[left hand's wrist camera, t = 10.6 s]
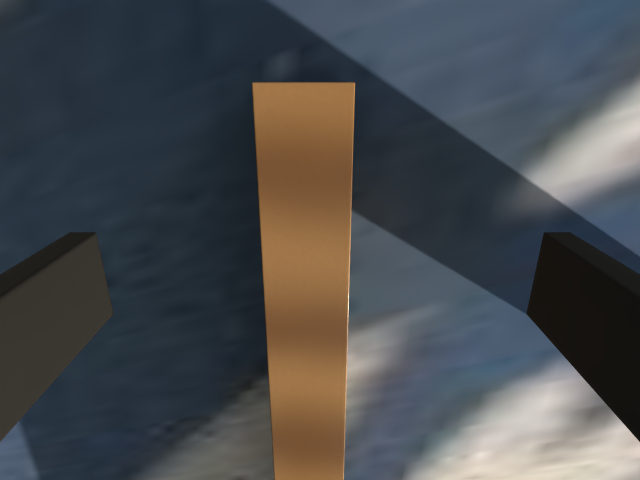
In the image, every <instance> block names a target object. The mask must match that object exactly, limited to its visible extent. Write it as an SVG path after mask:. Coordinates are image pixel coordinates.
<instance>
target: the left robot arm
mask: <svg viewBox="0 0 640 480" xmlns="http://www.w3.org/2000/svg"><path fill="white" fill-rule="evenodd" d="M112 315H113V310H112V305H111V300H110V296H109V291H108V286H107V281H106V277H105V272H104V267H103V263H102V258H101V253H100V249H99V244H98V239H97V235H96V232H70V233H68V234H67V235H65V236H63V237H62V238H60V239H58V240H57V241H55V242H53V243H52V244H50V245H48V246H47V247H45V248H43V249H42V250H40V251H39V252H37V253H35V254H34V255H32V256H30V257H29V258H27V259H25V260H24V261H22V262H20V263H19V264H17V265H16V266H14V267H12V268H11V269H9V270H7V271H6V272H4V273H2V274H1V275H0V441H1V440H2V439H3V438H4V437H5V436H6V435H7V434H8V432H9V431H10V430H11V429H12V428H13V427H14V426H15V424H16V423H17V422H18V421H19V420H20V419H21V418H22V417H23V415H24V414H25V413H26V412H27V411H28V410H29V409H30V408H31V406H32V405H33V404H34V403H35V402H36V401H37V400H38V399H39V397H40V396H41V395H42V394H43V393H44V392H45V391H46V389H47V388H48V387H49V386H50V385H51V384H52V383H53V382H54V380H55V379H56V378H57V377H58V376H59V375H60V374H61V373H62V371H63V370H64V369H65V368H66V367H67V366H68V365H69V363H70V362H71V361H72V360H73V359H74V358H75V357H76V356H77V354H78V353H79V352H80V351H81V350H82V349H83V348H84V347H85V345H86V344H87V343H88V342H89V341H90V340H91V339H92V338H93V336H94V335H95V334H96V333H97V332H98V331H99V330H100V328H101V327H102V326H103V325H104V324H105V323H106V322H107V321H108V319H109V318H110V317H111V316H112ZM527 315H528V316H529V317H530V318H531V319H532V321H533V322H534V323H535V324H536V325H537V326H538V327H539V328H540V330H541V331H542V332H543V333H544V334H545V335H546V336H547V338H548V339H549V340H550V341H551V342H552V343H553V344H554V345H555V347H556V348H557V349H558V350H559V351H560V352H561V353H562V354H563V356H564V357H565V358H566V359H567V360H568V361H569V362H570V363H571V365H572V366H573V367H574V368H575V369H576V370H577V371H578V373H579V374H580V375H581V376H582V377H583V378H584V379H585V380H586V382H587V383H588V384H589V385H590V386H591V387H592V388H593V389H594V391H595V392H596V393H597V394H598V395H599V396H600V397H601V399H602V400H603V401H604V402H605V403H606V404H607V405H608V406H609V408H610V409H611V410H612V411H613V412H614V413H615V414H616V415H617V417H618V418H619V419H620V420H621V421H622V422H623V423H624V424H625V426H626V427H627V428H628V429H629V430H630V431H631V432H632V434H633V435H634V436H635V437H636V438H637V439H638V440H639V441H640V275H639V274H638V273H636V272H634V271H633V270H631V269H629V268H628V267H626V266H624V265H623V264H621V263H620V262H618V261H616V260H615V259H613V258H611V257H610V256H608V255H606V254H605V253H603V252H601V251H600V250H598V249H597V248H595V247H593V246H592V245H590V244H588V243H587V242H585V241H583V240H582V239H580V238H578V237H577V236H575V235H573V234H572V233H570V232H544V235H543V239H542V244H541V249H540V253H539V258H538V263H537V267H536V272H535V277H534V281H533V286H532V291H531V296H530V300H529V305H528V310H527Z"/></svg>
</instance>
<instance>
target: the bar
mask: <svg viewBox="0 0 640 480" xmlns="http://www.w3.org/2000/svg"><path fill="white" fill-rule="evenodd" d="M252 91H253V109H254V127H255V144H256V162H257V180H258V197H259V215H260V232H261V250H262V268H263V285H264V303H265V321H266V338H267V356H268V373H269V391H270V409H271V426H272V444H273V462H274V479H275V480H344V447H345V412H346V377H347V342H348V308H349V273H350V238H351V204H352V169H353V134H354V99H355V83H354V82H253V83H252Z"/></svg>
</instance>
